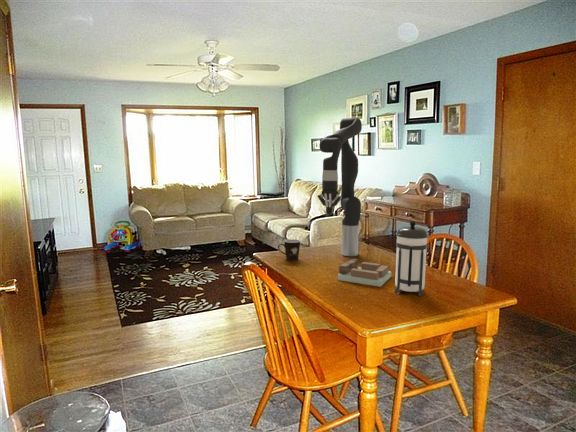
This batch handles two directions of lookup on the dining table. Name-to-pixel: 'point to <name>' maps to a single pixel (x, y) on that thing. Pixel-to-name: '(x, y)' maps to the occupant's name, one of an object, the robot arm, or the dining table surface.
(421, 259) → the coffee press
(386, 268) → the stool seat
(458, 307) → the dining table surface
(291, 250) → the coffee mug
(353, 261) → the brown rectangular bar
